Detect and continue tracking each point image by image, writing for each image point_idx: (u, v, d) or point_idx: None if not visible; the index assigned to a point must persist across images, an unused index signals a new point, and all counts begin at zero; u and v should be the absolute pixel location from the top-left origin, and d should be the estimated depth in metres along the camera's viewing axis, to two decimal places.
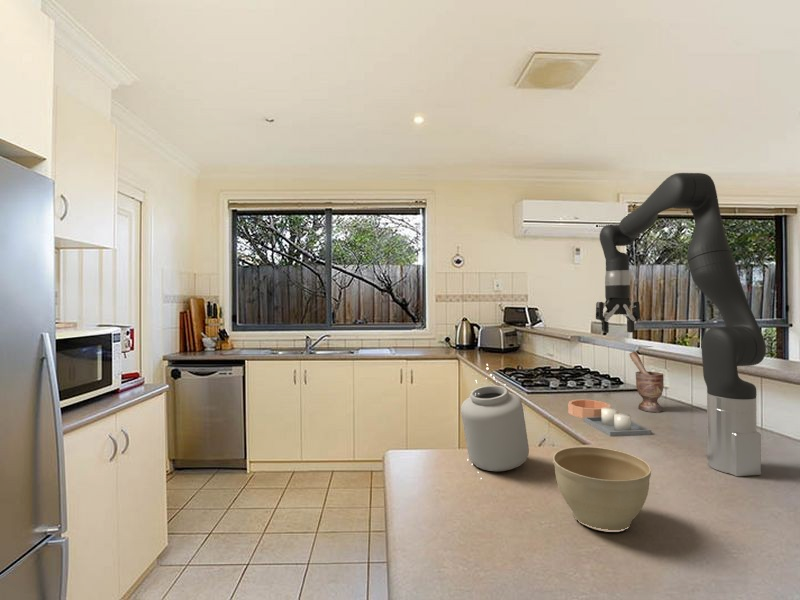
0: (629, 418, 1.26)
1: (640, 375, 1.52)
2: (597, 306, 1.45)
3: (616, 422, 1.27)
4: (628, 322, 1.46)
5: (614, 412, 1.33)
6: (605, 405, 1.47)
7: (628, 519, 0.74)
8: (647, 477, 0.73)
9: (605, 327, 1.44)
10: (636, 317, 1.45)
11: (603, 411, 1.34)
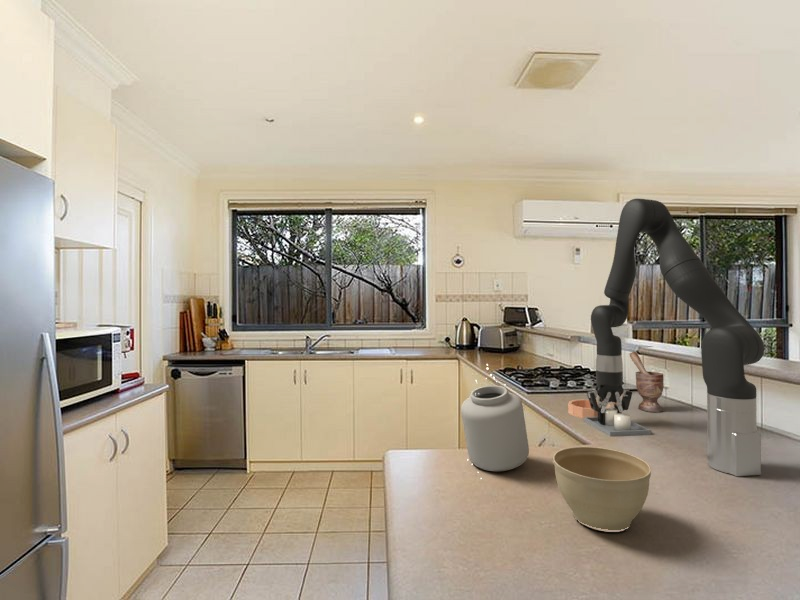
0: (629, 418, 1.26)
1: (640, 375, 1.52)
2: (589, 396, 1.35)
3: (616, 422, 1.27)
4: None
5: (614, 412, 1.33)
6: None
7: (628, 519, 0.74)
8: (647, 477, 0.73)
9: (601, 419, 1.34)
10: (624, 407, 1.34)
11: None
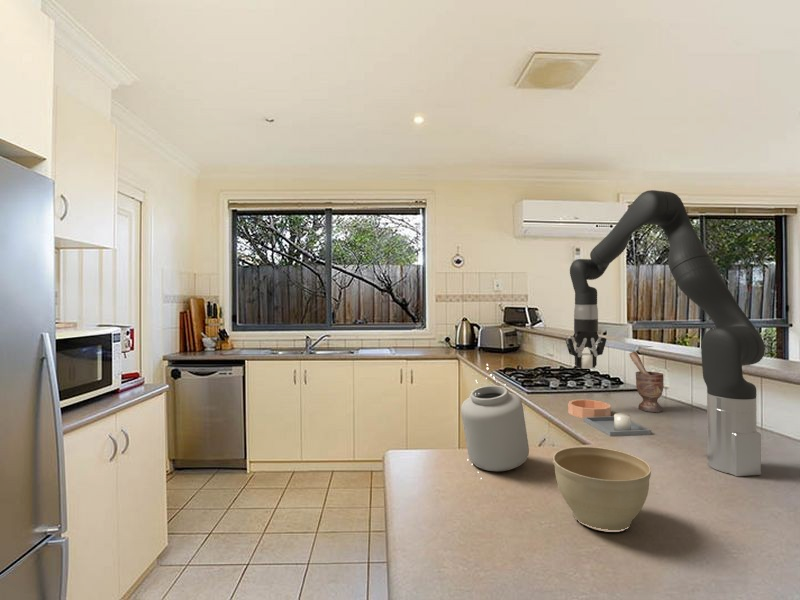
0: (629, 418, 1.26)
1: (640, 375, 1.52)
2: (567, 342, 1.48)
3: (616, 422, 1.27)
4: None
5: (590, 356, 1.46)
6: (605, 405, 1.47)
7: (628, 519, 0.74)
8: (647, 477, 0.73)
9: (578, 362, 1.47)
10: (598, 352, 1.48)
11: None
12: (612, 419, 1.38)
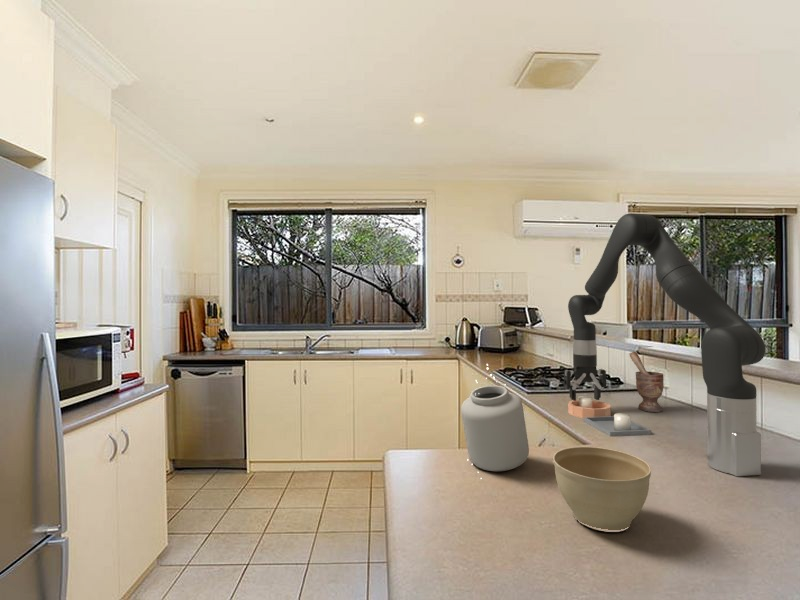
0: (629, 418, 1.26)
1: (640, 375, 1.52)
2: (565, 374, 1.49)
3: (616, 422, 1.27)
4: (595, 389, 1.50)
5: (589, 400, 1.47)
6: (605, 405, 1.47)
7: (628, 519, 0.74)
8: (647, 477, 0.73)
9: (572, 395, 1.48)
10: (602, 385, 1.49)
11: (580, 399, 1.49)
12: (612, 419, 1.38)
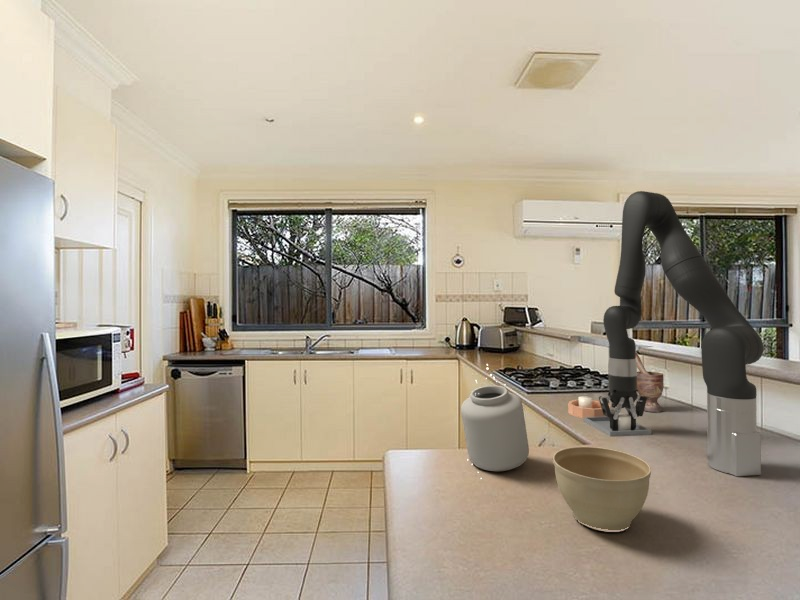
0: (629, 418, 1.26)
1: (640, 375, 1.52)
2: (601, 401, 1.28)
3: None
4: None
5: (589, 400, 1.47)
6: None
7: (628, 519, 0.74)
8: (647, 477, 0.73)
9: (614, 425, 1.27)
10: (638, 413, 1.27)
11: (580, 399, 1.49)
12: None
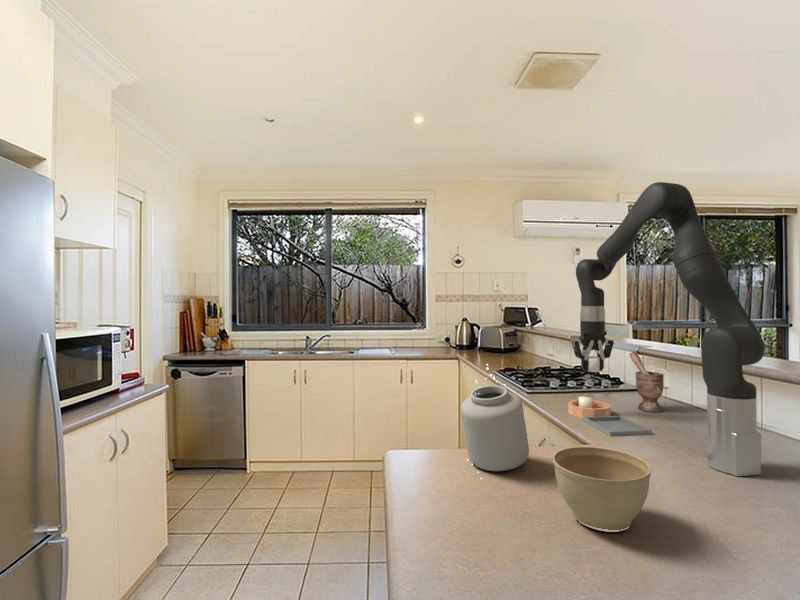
0: (598, 359, 1.42)
1: (640, 375, 1.52)
2: (573, 345, 1.44)
3: None
4: None
5: (590, 400, 1.47)
6: (605, 405, 1.47)
7: (628, 519, 0.74)
8: (647, 477, 0.73)
9: (584, 366, 1.43)
10: (606, 355, 1.43)
11: (580, 399, 1.49)
12: (612, 419, 1.38)
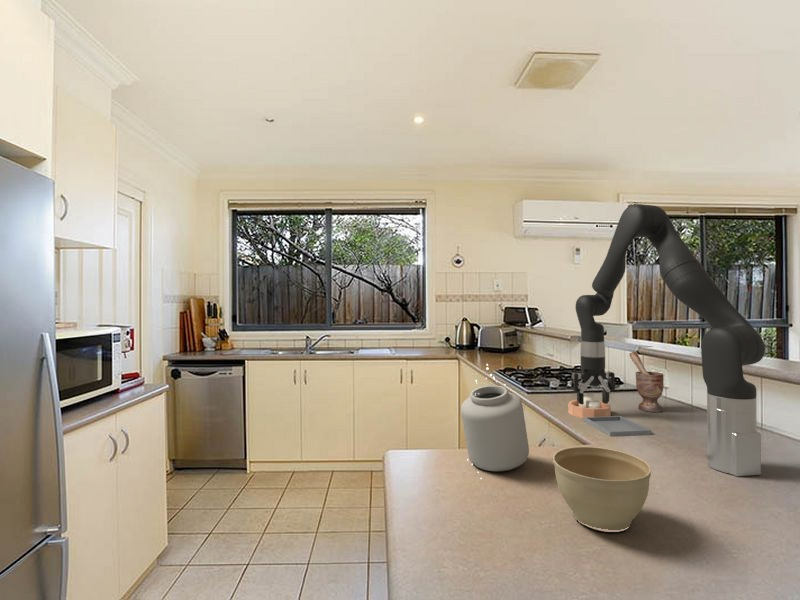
0: (598, 403, 1.42)
1: (640, 375, 1.52)
2: (572, 376, 1.44)
3: (587, 407, 1.44)
4: (603, 393, 1.45)
5: None
6: (605, 405, 1.47)
7: (628, 519, 0.74)
8: (647, 477, 0.73)
9: (580, 399, 1.43)
10: (611, 388, 1.44)
11: None
12: (612, 419, 1.38)
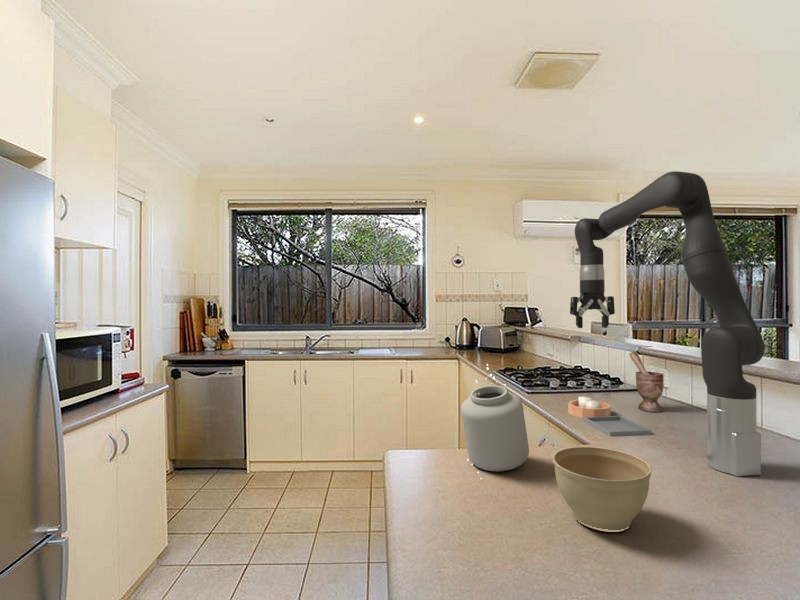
0: (598, 403, 1.42)
1: (640, 375, 1.52)
2: (571, 300, 1.44)
3: (587, 407, 1.44)
4: (603, 317, 1.45)
5: None
6: (605, 405, 1.47)
7: (628, 519, 0.74)
8: (647, 477, 0.73)
9: (579, 322, 1.43)
10: (611, 312, 1.43)
11: (580, 399, 1.49)
12: (612, 419, 1.38)
